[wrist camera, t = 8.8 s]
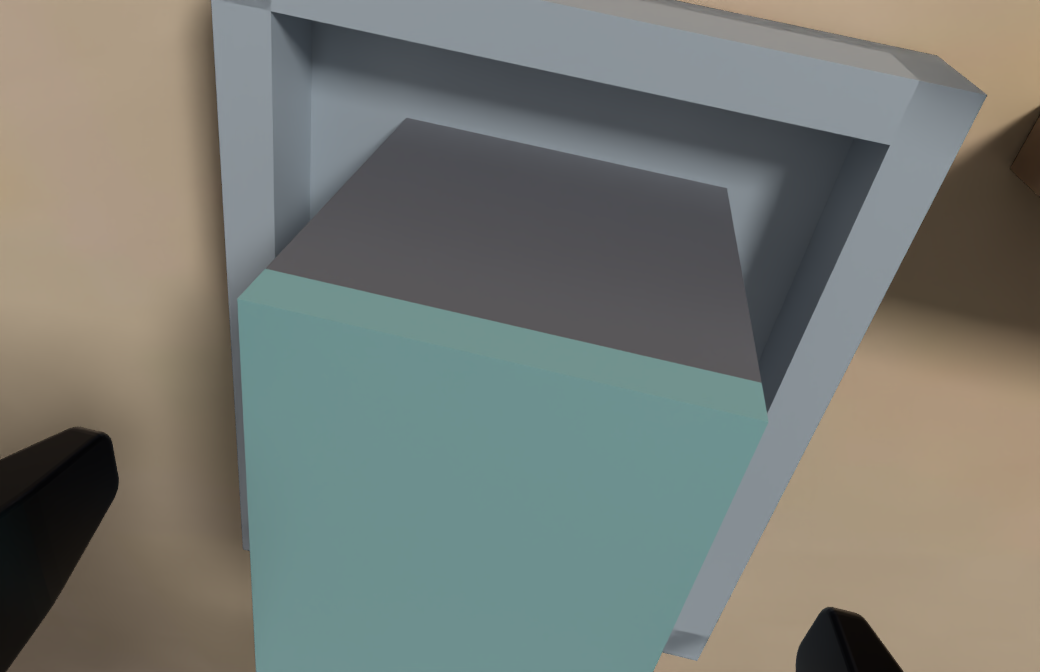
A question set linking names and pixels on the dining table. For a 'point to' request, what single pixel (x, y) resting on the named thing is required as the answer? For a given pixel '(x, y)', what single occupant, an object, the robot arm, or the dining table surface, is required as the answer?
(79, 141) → the dining table surface
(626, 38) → the tray
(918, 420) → the dining table surface
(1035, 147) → the bay
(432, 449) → the teal rectangular block
